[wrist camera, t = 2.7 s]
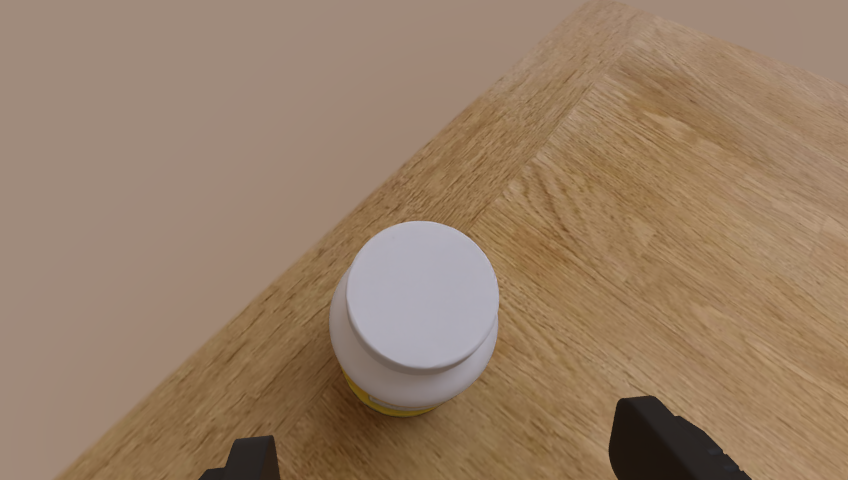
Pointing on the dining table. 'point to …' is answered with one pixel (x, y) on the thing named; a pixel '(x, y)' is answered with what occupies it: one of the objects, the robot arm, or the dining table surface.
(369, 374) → the pill bottle
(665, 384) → the dining table surface
